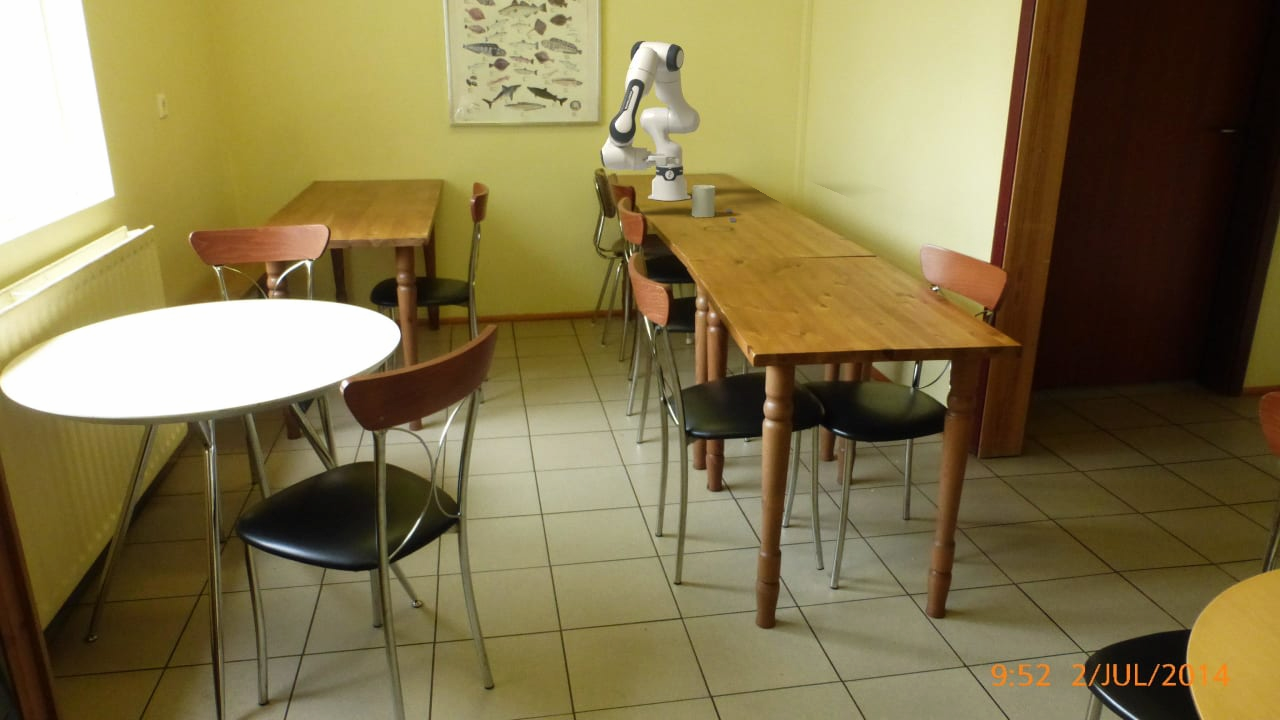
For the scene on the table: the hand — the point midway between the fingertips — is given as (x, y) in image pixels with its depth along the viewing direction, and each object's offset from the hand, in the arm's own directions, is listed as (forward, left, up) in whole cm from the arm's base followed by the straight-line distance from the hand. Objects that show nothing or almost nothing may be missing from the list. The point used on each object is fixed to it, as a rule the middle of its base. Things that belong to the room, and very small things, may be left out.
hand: (677, 160), depth 363 cm
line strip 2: (+11, +21, -22) cm, 32 cm away
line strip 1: (-10, +21, -22) cm, 32 cm away
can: (0, +10, -22) cm, 24 cm away
